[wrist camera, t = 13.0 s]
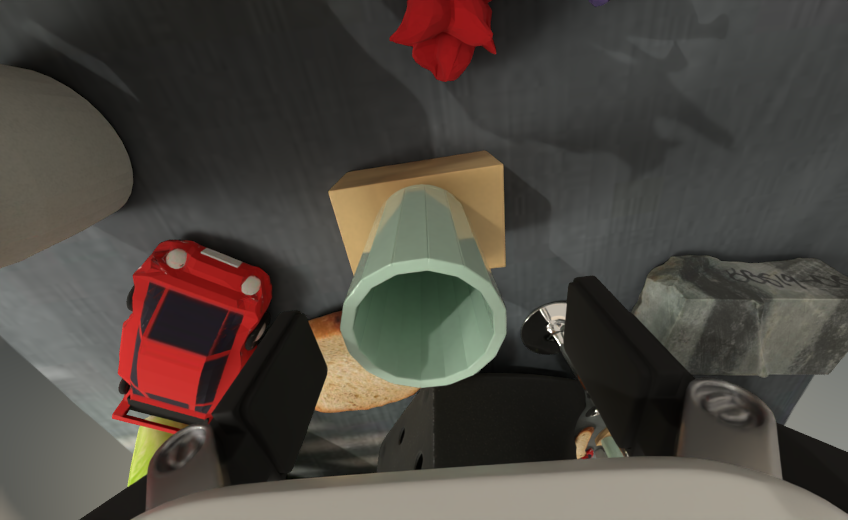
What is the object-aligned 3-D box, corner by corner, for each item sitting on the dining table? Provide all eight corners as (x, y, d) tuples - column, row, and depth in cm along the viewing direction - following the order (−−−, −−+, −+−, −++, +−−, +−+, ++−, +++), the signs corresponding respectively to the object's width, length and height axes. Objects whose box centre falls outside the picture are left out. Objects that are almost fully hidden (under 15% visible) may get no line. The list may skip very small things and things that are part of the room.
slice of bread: (496, 298, 27) (507, 326, 23) (419, 416, 34) (419, 450, 31) (294, 226, 23) (273, 247, 20) (259, 375, 31) (240, 408, 28)
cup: (465, 176, 17) (505, 247, 9) (472, 264, 19) (508, 378, 12) (365, 192, 17) (318, 273, 9) (386, 276, 20) (363, 395, 12)
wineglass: (577, 363, 31) (742, 642, 15) (500, 355, 30) (588, 638, 14) (612, 299, 27) (884, 584, 11) (525, 288, 26) (682, 575, 11)
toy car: (287, 266, 25) (260, 299, 21) (245, 413, 33) (218, 460, 29) (151, 218, 23) (88, 244, 19) (140, 388, 31) (94, 434, 27)
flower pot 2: (476, 680, 11) (774, 710, 14) (447, 321, 27) (591, 377, 31) (324, 714, 20) (533, 727, 23) (371, 427, 36) (490, 461, 40)
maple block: (486, 150, 21) (503, 164, 16) (490, 236, 24) (506, 267, 20) (346, 172, 21) (327, 191, 17) (368, 253, 25) (356, 286, 20)
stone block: (645, 254, 25) (697, 288, 20) (819, 248, 25) (911, 282, 20) (616, 336, 29) (653, 380, 24) (765, 331, 29) (831, 375, 24)
